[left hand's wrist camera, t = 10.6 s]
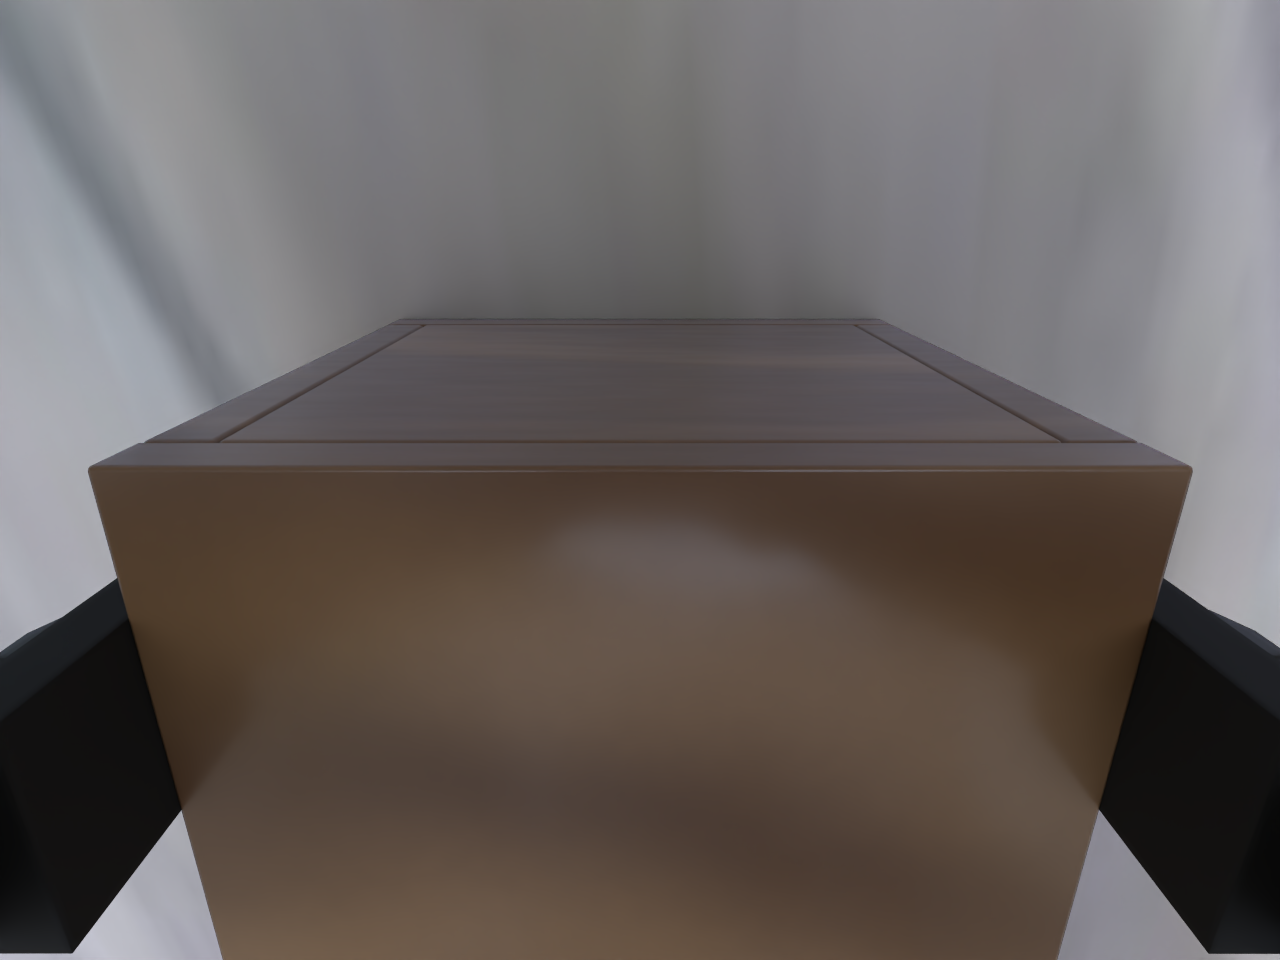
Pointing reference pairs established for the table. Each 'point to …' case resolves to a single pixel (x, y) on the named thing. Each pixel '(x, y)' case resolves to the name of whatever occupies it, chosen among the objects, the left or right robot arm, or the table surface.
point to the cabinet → (640, 643)
